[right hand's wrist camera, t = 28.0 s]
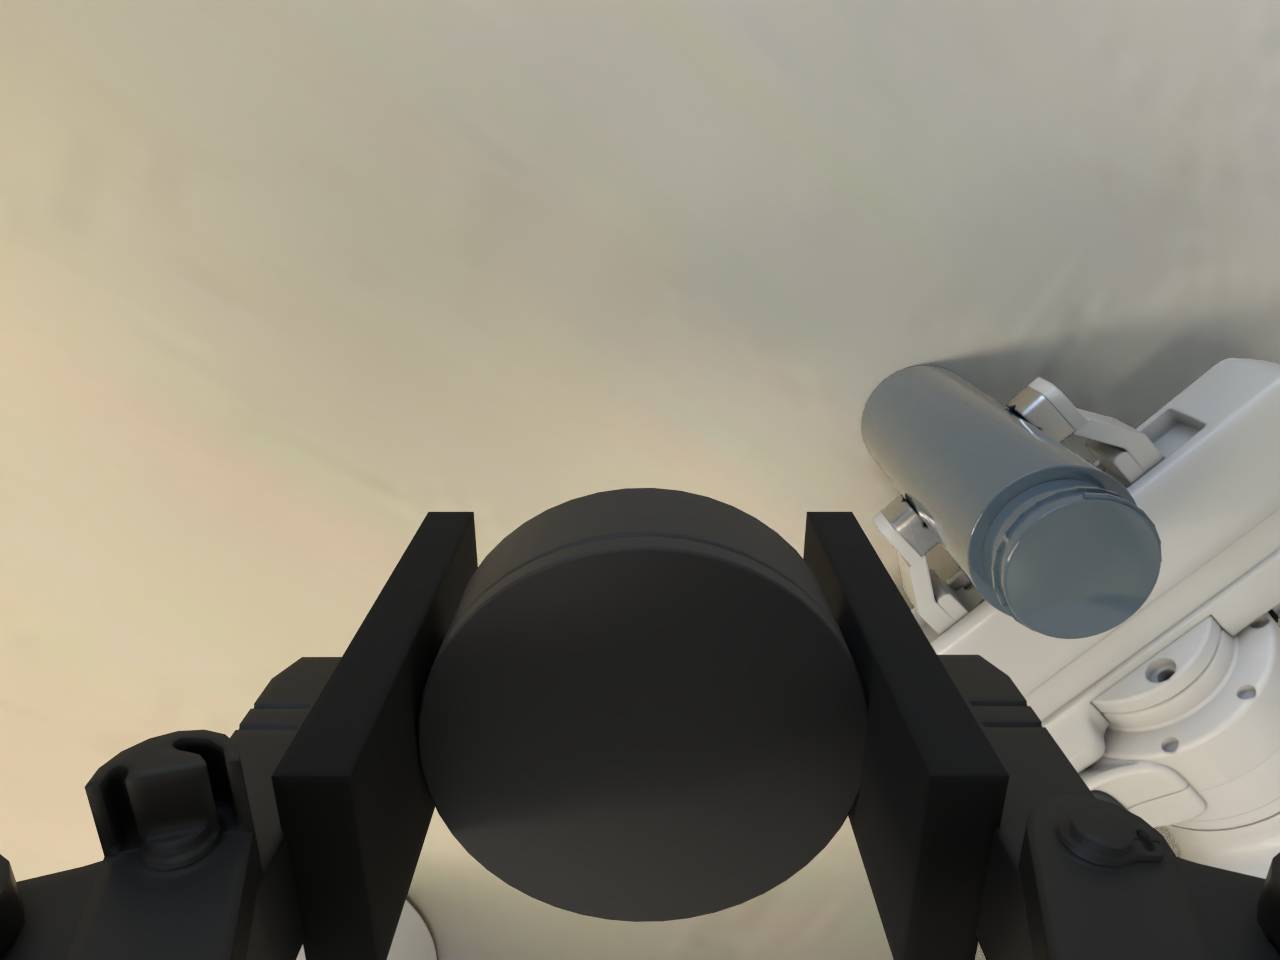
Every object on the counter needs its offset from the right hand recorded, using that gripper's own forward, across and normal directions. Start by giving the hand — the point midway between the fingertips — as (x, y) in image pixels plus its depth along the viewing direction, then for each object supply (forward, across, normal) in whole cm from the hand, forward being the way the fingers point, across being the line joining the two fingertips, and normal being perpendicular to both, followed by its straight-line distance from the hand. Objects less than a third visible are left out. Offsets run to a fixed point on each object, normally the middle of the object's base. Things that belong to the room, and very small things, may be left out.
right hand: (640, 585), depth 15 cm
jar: (+23, +12, -4) cm, 26 cm away
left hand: (+16, +12, -3) cm, 20 cm away
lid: (-4, 0, 0) cm, 4 cm away
